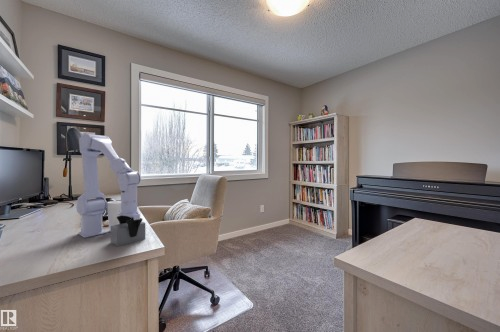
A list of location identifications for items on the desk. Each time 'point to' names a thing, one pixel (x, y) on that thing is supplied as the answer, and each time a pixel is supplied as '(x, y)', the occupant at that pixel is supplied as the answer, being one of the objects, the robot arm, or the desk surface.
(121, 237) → the grey rectangular brick
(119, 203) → the foam cup
